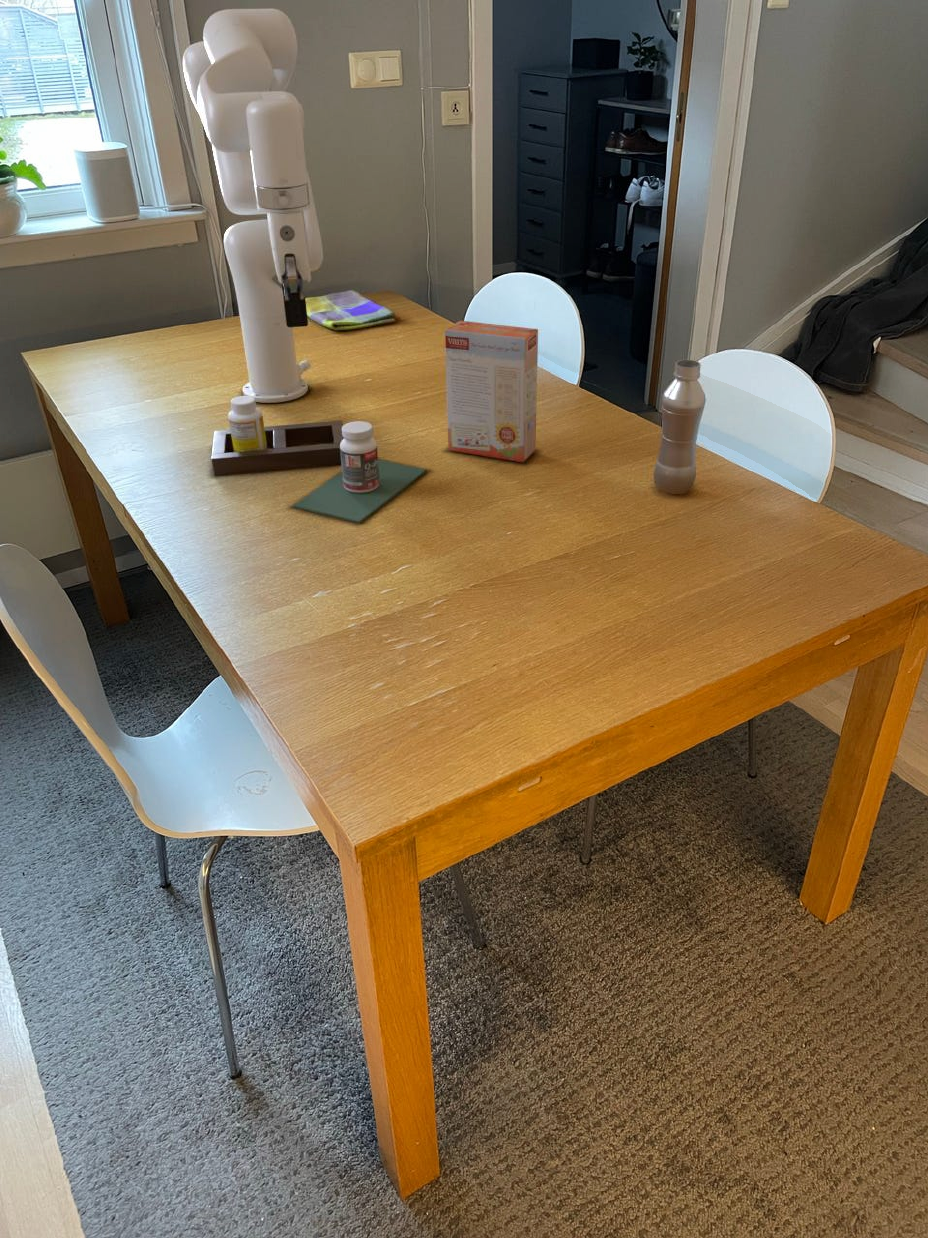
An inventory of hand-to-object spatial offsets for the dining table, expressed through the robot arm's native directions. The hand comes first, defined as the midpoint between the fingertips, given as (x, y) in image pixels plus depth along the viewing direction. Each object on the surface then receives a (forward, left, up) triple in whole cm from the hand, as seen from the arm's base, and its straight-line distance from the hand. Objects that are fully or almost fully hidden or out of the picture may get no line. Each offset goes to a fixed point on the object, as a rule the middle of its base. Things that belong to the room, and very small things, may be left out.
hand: (296, 316), depth 143 cm
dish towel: (-73, -42, -24) cm, 87 cm away
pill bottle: (+6, +14, -24) cm, 28 cm away
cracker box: (-16, +26, -24) cm, 39 cm away
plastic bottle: (-15, +58, -24) cm, 65 cm away
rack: (+1, -5, -24) cm, 24 cm away
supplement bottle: (+4, -9, -24) cm, 26 cm away
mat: (+6, +14, -24) cm, 28 cm away
